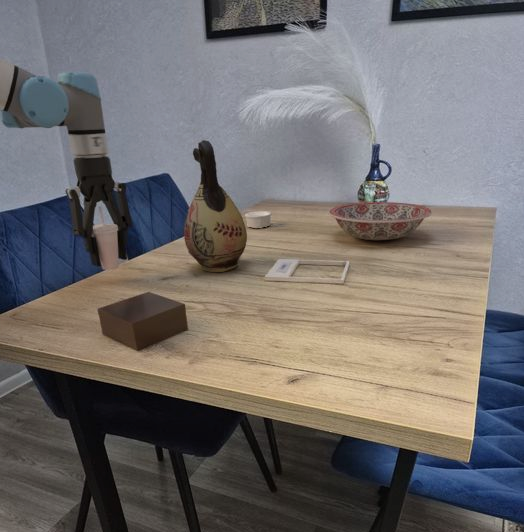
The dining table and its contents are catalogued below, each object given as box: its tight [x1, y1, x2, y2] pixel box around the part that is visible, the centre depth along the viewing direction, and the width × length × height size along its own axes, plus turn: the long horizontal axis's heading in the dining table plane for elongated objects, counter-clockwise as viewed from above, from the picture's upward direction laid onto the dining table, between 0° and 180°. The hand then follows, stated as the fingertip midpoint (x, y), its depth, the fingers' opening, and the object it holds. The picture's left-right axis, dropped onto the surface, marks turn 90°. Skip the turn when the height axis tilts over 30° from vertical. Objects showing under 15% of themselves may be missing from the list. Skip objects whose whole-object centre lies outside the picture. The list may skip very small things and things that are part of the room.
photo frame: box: [264, 258, 351, 285], centre depth 113 cm, size 15×1×18 cm
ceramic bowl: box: [328, 201, 433, 241], centre depth 139 cm, size 29×29×8 cm
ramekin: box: [244, 210, 272, 228], centre depth 161 cm, size 9×9×4 cm
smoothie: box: [92, 206, 120, 271], centre depth 108 cm, size 6×6×14 cm
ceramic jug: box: [183, 139, 248, 273], centre depth 113 cm, size 17×15×30 cm
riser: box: [97, 291, 189, 352], centre depth 85 cm, size 11×11×5 cm
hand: (109, 261), depth 111 cm, fingers closed on smoothie, 6 cm apart
